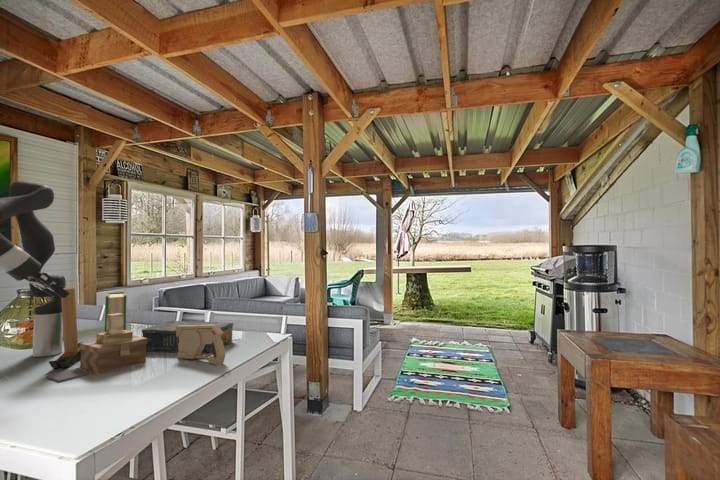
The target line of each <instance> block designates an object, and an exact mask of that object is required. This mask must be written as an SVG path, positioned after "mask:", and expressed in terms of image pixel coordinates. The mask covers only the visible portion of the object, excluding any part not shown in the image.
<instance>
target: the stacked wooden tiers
mask: <svg viewBox="0 0 720 480" xmlns="http://www.w3.org/2000/svg"><path fill="white" fill-rule="evenodd" d="M133 333H134V332H133V331H131V330H127V329H126V330H123V333H119V334H113V335H108V334H106V332H105V331H104V332H97V333H96V339H94V340H89V341H82V342H83V343H80V342H79V343H80V349H81V360H80V361H79V368H80V369H83V370H86V371H88V372H91V373H96V374H98V375H99V374H103V373H107V372H112V371H115V370H118V369H119V370H120V369H122V368H125V367H127V368H128V367H129V366H134V365H137V364H141V363H146V362H147V351H146V344H147V343H148V338H144V337H142V336H139V335H135V334H133Z"/></svg>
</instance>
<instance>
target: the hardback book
mask: <svg viewBox="0 0 720 480" xmlns="http://www.w3.org/2000/svg"><path fill="white" fill-rule="evenodd" d="M127 295H128V294H127V291H117V292H114V291H113V292H107V293H106V295H105V305H104V306H105V308H104V310H105V311H104V312H105V314H104V332H106V329H107V315H108V314H116V313H121V314H124V327H123V330H127V328H126V327H127V326H126V325H127V324H126V323H127Z"/></svg>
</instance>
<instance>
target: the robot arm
mask: <svg viewBox="0 0 720 480" xmlns="http://www.w3.org/2000/svg"><path fill="white" fill-rule="evenodd" d="M54 200H55V193H54V190H53V188H52V187H50V186H49V185H45V184H41V183H36V182H35V183H34V182H28V181H14V182H13V183H11V184H10V186H9V190H8V196H7V197H0V222H2V221H4V220H7V219H10V218H13V217H15V219H16V221H17V224H18V229H19V235H20V239H21V244H22V248H21V247H19V246H18V245H15V243H13V242H12V241H11V240H9V238H7V237H5V236H4V235H3V234H2V233H1V232H0V270H2V271H3V272H4V273H6V274H7V275H8V276H10V277H12V278H13V279H14V280H16V281H19V282H20V281H23V280H24V281H26V282H29V283H28V284H29V290H30V294H31V295H32V296H33V298H51V297H52V300H51V301H49V302H48V303H45V304H41V305H38V306H36V307H34V309H33V310H34V311H33V333H32V334H33V335H32V354H31V355H32V357H34V358H43V357H50V356H55V355H58V354H61V353H63V340H64V337H63V320H62V304H61V297H62V298H65V297H66V296H68V295H69V292H67V291H66V290H65V289H63V288H67V286H66V285H67V284H66V283H67V281H66V278H65V276H64V275H62V274H48V273H47V272H46V273H45V272H44V271H43V272H42V270H43V268H44V266H45V264H46V263H47V262H48V261H49V260H50V259H51V257H52V256H53V255H54V253H55V250H56V246H55V241H54V235H53V234H52V232H51V230H50V229H49V228H48V227H47V226H46V225H45V224H44V223H43V222H42V221H40V219H39V218H38V217H37V216H36V214H35V211H39V210H44V209H47V208H49V207H50V206H51V205H53V202H54Z"/></svg>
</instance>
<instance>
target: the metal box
mask: <svg viewBox="0 0 720 480" xmlns="http://www.w3.org/2000/svg"><path fill="white" fill-rule="evenodd" d="M180 325H218V326H219V327H220V329H221V330H222V331H223V335H222V336H221V340H222V341H223V345H224V347H225V346H228V345H229V344H231V343H233V329H234V328H233V327H234V322H232V321H231V322H225V321H224V322H223V321H222V322H221V321H195V320H194V321H193V320H191V321H189V320H188V321H187V320H170V321H167V322H163V323H159V324H156V325H151V326H148V327H145V328H143V329H141V331H142V332H141V333H142V336H141V337H144V338H148V343H147V344H146V352H155V353H156V352H157V353H159V352H160V353H161V352H164V353H167V352H168V353H179V352H178V343H179V336H176V326H180ZM201 354H213V352H212V347H210V348H209V344H206V345H205V347H204V349H203V350H202V352H201Z"/></svg>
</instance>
